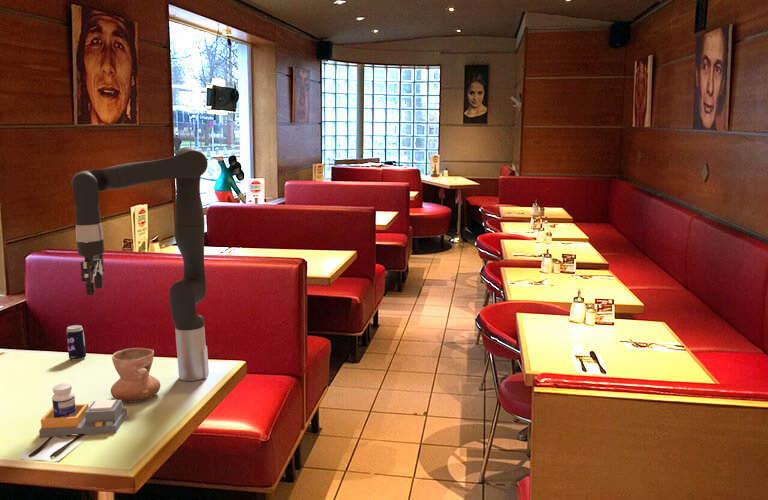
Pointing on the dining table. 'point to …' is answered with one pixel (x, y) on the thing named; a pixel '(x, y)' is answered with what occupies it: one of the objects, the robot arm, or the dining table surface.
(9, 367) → the dining table surface
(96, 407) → the button
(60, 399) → the pill bottle
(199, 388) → the dining table surface
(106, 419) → the grey and orange tray
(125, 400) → the ceramic jug
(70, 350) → the beverage can
